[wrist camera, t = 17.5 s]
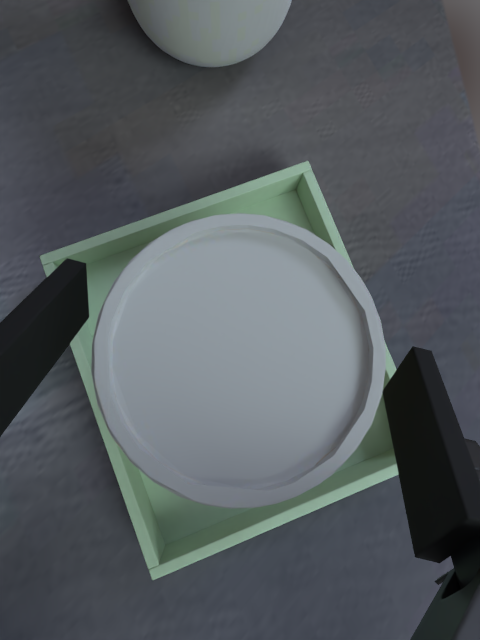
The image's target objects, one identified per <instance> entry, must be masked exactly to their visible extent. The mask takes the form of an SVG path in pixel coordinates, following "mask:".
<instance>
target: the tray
mask: <svg viewBox="0 0 480 640" xmlns="http://www.w3.org/2000/svg"><path fill="white" fill-rule="evenodd" d="M237 213H243V214H255V215H265V216H269V217H272V218H276V219H280V220H283V221H287V222H289V223H292V224H294V225H297V226H299V227H302V228H304V229H307V230H308V231H310V232H311V233H313V234H314V235H316V236H317V237H319V238H320V239H322V240H324V241H325V242H327V243H328V244H330V245H331V246H332V247H333V248H334V249H335V250H336V251H337V252H338V253H340V254H341V255H342V256H343V257H344V258H345V259H346V260H347V261H348V262H349V264H350V265H351V266H352V263H351V261H350V259H349V256H348V254H347V252H346V249H345V247H344V245H343V242H342V240H341V237H340V235H339V233H338V230H337V228H336V226H335V223H334V221H333V219H332V216H331V214H330V211H329V209H328V207H327V204H326V202H325V200H324V197H323V195H322V193H321V190H320V188H319V186H318V183H317V181H316V178H315V176H314V174H313V171H312V169H311V167H310V164H309V162H308V161H306V162H303V163H300V164H297V165H295V166H292V167H289V168H286V169H283V170H280V171H278V172H275V173H272V174H269V175H266V176H264V177H261V178H258V179H255V180H252V181H249V182H247V183H244V184H241V185H238V186H235V187H232V188H230V189H227V190H224V191H221V192H218V193H216V194H213V195H210V196H207V197H204V198H201V199H199V200H196V201H193V202H190V203H187V204H184V205H182V206H179V207H176V208H173V209H170V210H168V211H165V212H162V213H159V214H156V215H153V216H151V217H148V218H145V219H142V220H139V221H136V222H134V223H131V224H128V225H125V226H122V227H120V228H117V229H114V230H111V231H108V232H105V233H103V234H100V235H97V236H94V237H91V238H88V239H86V240H83V241H80V242H77V243H74V244H72V245H69V246H66V247H63V248H60V249H57V250H55V251H52V252H49V253H46V254H43V255H40V256H39V257H40V260H41V263H42V265H43V268H44V271H45V274H46V277H48V276H49V275H50V274H51V273H52V272H53V271H54V270H55V269H56V268H57V267H58V266H59V265H60V264H61V263H62V262H63V261H64V260H66V259H67V258H68V259H72V260H76V261H80V262H84V263H86V269H87V286H88V303H89V318H88V320H87V321H86V322H85V324H84V325H83V326H82V328H81V329H80V330H79V332H78V333H77V334H76V336H75V337H74V338H73V340H72V341H71V343H70V346H71V349H72V352H73V355H74V357H75V360H76V363H77V366H78V369H79V372H80V375H81V377H82V380H83V383H84V386H85V389H86V392H87V395H88V398H89V400H90V403H91V406H92V409H93V412H94V415H95V418H96V421H97V423H98V426H99V429H100V432H101V435H102V438H103V441H104V444H105V446H106V449H107V452H108V455H109V458H110V461H111V464H112V466H113V469H114V472H115V475H116V478H117V481H118V484H119V487H120V489H121V492H122V495H123V498H124V501H125V504H126V507H127V510H128V512H129V515H130V518H131V521H132V524H133V527H134V530H135V533H136V535H137V538H138V541H139V544H140V547H141V550H142V553H143V555H144V558H145V561H146V564H147V567H148V569H149V572H150V575H151V578H152V580H155V579H157V578H159V577H162V576H164V575H166V574H169V573H171V572H173V571H176V570H178V569H180V568H183V567H185V566H187V565H190V564H192V563H194V562H196V561H199V560H201V559H203V558H206V557H208V556H210V555H213V554H215V553H217V552H220V551H222V550H224V549H227V548H229V547H231V546H234V545H236V544H238V543H240V542H243V541H245V540H247V539H250V538H252V537H254V536H257V535H259V534H261V533H264V532H266V531H268V530H271V529H273V528H275V527H278V526H280V525H282V524H284V523H287V522H289V521H291V520H294V519H296V518H298V517H301V516H303V515H305V514H308V513H310V512H312V511H315V510H317V509H319V508H321V507H324V506H326V505H328V504H331V503H333V502H335V501H338V500H340V499H342V498H345V497H347V496H349V495H352V494H354V493H356V492H359V491H361V490H363V489H365V488H368V487H370V486H372V485H375V484H377V483H379V482H382V481H384V480H386V479H389V478H391V477H393V476H396V475H398V474H399V473H398V468H397V463H396V458H395V453H394V448H393V443H392V438H391V433H390V428H389V423H388V418H387V413H386V408H385V403H384V398H383V393H382V396H381V399H380V402H379V405H378V408H377V410H376V413H375V416H374V419H373V422H372V425H371V426H370V428H369V429H368V431H367V433H366V434H365V436H364V438H363V439H362V441H361V443H360V444H359V446H358V447H357V449H356V450H355V451H354V452H353V453H352V455H351V456H350V457H349V458H348V459H347V460H346V461H345V462H344V464H343V465H342V466H341V467H339V468H338V469H337V470H336V471H335V472H334V473H333V474H332V475H331V476H330V477H329V478H327V479H325V480H324V481H323V482H322V483H321V484H319V485H317V486H315V487H313V488H311V489H310V490H308V491H306V492H304V493H302V494H300V495H298V496H297V497H294V498H291V499H288V500H286V501H283V502H280V503H277V504H273V505H267V506H262V507H257V508H235V509H229V508H222V507H215V506H208V505H203V504H200V503H197V502H194V501H191V500H188V499H185V498H181V497H179V496H177V495H176V494H174V493H172V492H170V491H168V490H167V489H165V488H163V487H161V486H159V485H158V484H156V483H154V482H153V481H152V480H151V479H149V478H148V477H147V476H146V475H145V474H144V473H142V472H141V471H140V470H139V469H138V468H137V467H135V466H134V465H133V464H132V463H131V462H130V461H129V459H128V458H127V457H126V455H125V454H124V453H123V451H122V450H121V449H120V447H119V446H118V445H117V443H116V442H115V441H114V439H113V438H112V437H111V435H110V433H109V431H108V428H107V426H106V424H105V421H104V419H103V417H102V414H101V412H100V410H99V407H98V405H97V400H96V395H95V389H94V384H93V379H92V374H91V363H92V341H93V337H94V332H95V327H96V323H97V318H98V314H99V312H100V310H101V308H102V305H103V303H104V301H105V299H106V297H107V295H108V293H109V291H110V289H111V287H112V284H113V282H114V281H115V280H116V278H117V277H118V276H119V274H120V273H121V272H122V271H123V269H124V268H125V267H126V266H127V264H128V263H129V262H130V260H131V259H132V258H134V257H135V256H136V255H137V254H138V253H139V252H140V251H141V250H142V249H144V248H145V247H146V246H147V245H148V244H149V243H150V242H152V241H153V240H155V239H157V238H158V237H160V236H161V235H163V234H165V233H166V232H168V231H170V230H171V229H174V228H176V227H178V226H181V225H183V224H185V223H188V222H190V221H193V220H197V219H202V218H206V217H210V216H213V215H220V214H237ZM352 267H353V266H352ZM353 269H354V268H353ZM384 343H385V341H384ZM385 349H386V370H385V377H384V385H383V389H384V388H385V386H386V385H387V383H388V382H389V380H390V379H391V377H392V376H393V375H394V373H395V372H396V367H395V365H394V362H393V360H392V358H391V355H390V353H389V351H388V348H387V346H386V344H385Z"/></svg>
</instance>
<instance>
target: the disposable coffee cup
mask: <svg viewBox="0 0 480 640" xmlns="http://www.w3.org/2000/svg"><path fill="white" fill-rule="evenodd" d="M385 370H386V349H385V343H384V337H383V331H382V325H381V321H380V318H379V315H378V313H377V310H376V307H375V305H374V302H373V300H372V297H371V295H370V293H369V291H368V290H367V288H366V286H365V284H364V283H363V281H362V279H361V278H360V276H359V275H358V274H357V273H356V271H355V270H354V269H353V267H352V266H351V265H350V264H349V262H348V261H347V260H346V259H345V258H344V257H343V256H342V255H341V254H340V253H338V252H337V251H336V250H335V249H334V248H333V247H332V246H331V245H330V244H328V243H327V242H325V241H324V240H322V239H320V238H319V237H317V236H316V235H314V234H313V233H311V232H310V231H308V230H307V229H304V228H302V227H299V226H297V225H294V224H292V223H289V222H287V221H283V220H280V219H276V218H272V217H269V216H265V215H255V214H243V213H237V214H220V215H213V216H210V217H206V218H202V219H197V220H193V221H190V222H188V223H185V224H183V225H181V226H178V227H176V228H174V229H171V230H170V231H168V232H166V233H165V234H163V235H161V236H160V237H158V238H157V239H155V240H153V241H152V242H150V243H149V244H148V245H147V246H146V247H145V248H144V249H142V250H141V251H140V252H139V253H138V254H137V255H136V256H135V257H134V258H132V259H131V260H130V262H129V263H128V264H127V266H126V267H125V268H124V269H123V271H122V272H121V273H120V274H119V276H118V277H117V278H116V280H115V281H114V282H113V284H112V287H111V289H110V291H109V293H108V295H107V297H106V299H105V301H104V303H103V305H102V308H101V310H100V312H99V314H98V318H97V323H96V327H95V332H94V337H93V341H92V363H91V374H92V379H93V384H94V389H95V395H96V400H97V405H98V407H99V410H100V412H101V414H102V417H103V419H104V421H105V424H106V426H107V428H108V431H109V433H110V435H111V437H112V438H113V439H114V441H115V442H116V443H117V445H118V446H119V447H120V449H121V450H122V451H123V453H124V454H125V455H126V457H127V458H128V459H129V461H130V462H131V463H132V464H133V465H134V466H135V467H137V468H138V469H139V470H140V471H141V472H142V473H144V474H145V475H146V476H147V477H148V478H149V479H151V480H152V481H153V482H154V483H156V484H158V485H159V486H161V487H163V488H165V489H167V490H168V491H170V492H172V493H174V494H176V495H177V496H179V497H181V498H185V499H188V500H191V501H194V502H197V503H200V504H203V505H208V506H215V507H222V508H229V509H235V508H257V507H262V506H267V505H273V504H277V503H280V502H283V501H286V500H288V499H291V498H294V497H297V496H298V495H300V494H302V493H304V492H306V491H308V490H310V489H311V488H313V487H315V486H317V485H319V484H321V483H322V482H323V481H324V480H325V479H327V478H329V477H330V476H331V475H332V474H333V473H334V472H335V471H336V470H337V469H338V468H339V467H341V466H342V465H343V464H344V462H345V461H346V460H347V459H348V458H349V457H350V456H351V455H352V453H353V452H354V451H355V450H356V449H357V447H358V446H359V444H360V443H361V441H362V439H363V438H364V436H365V434H366V433H367V431H368V429H369V428H370V426H371V425H372V422H373V419H374V416H375V413H376V410H377V408H378V405H379V402H380V399H381V396H382V392H383V385H384V377H385Z"/></svg>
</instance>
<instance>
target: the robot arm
mask: <svg viewBox="0 0 480 640" xmlns="http://www.w3.org/2000/svg"><path fill="white" fill-rule="evenodd" d="M88 318H89V303H88V286H87V269H86V263H84V262H80V261H76V260H72V259H68V258H67V259H66V260H64V261H63V262H62V263H61V264H60V265H59V266H58V267H57V268H56V269H55V270H54V271H53V272H52V273H51V274H50V275H49V276H48V277H47V278H46V279H45V280H44V281H43V282H42V283H41V284H40V285H39V286H38V287H37V288H36V289H35V290H34V291H33V292H32V293H31V294H29V295H28V296H27V297H26V298H25V299H24V300H23V301H22V302H21V303H20V304H19V305H18V306H17V307H16V308H15V309H14V310H13V311H12V312H11V313H10V314H9V315H8V316H7V317H6V318H5V319H4V320H3V321H2V322H1V323H0V436H1V435H2V434H3V432H4V431H5V430H6V428H7V427H8V426H9V424H10V423H11V422H12V420H13V419H14V418H15V416H16V415H17V414H18V412H19V411H20V410H21V408H22V407H23V405H24V404H25V403H26V401H27V400H28V399H29V397H30V396H31V395H32V393H33V392H34V391H35V389H36V388H37V387H38V385H39V384H40V383H41V381H42V380H43V379H44V377H45V376H46V375H47V373H48V372H49V371H50V369H51V368H52V367H53V365H54V364H55V363H56V361H57V360H58V359H59V357H60V356H61V355H62V353H63V352H64V351H65V349H66V348H67V347H68V345H69V344H70V343H71V341H72V340H73V338H74V337H75V336H76V334H77V333H78V332H79V330H80V329H81V328H82V326H83V325H84V324H85V322H86V321H87V320H88ZM382 393H383V398H384V403H385V408H386V413H387V418H388V423H389V428H390V433H391V438H392V443H393V448H394V453H395V458H396V463H397V468H398V473H399V478H400V483H401V488H402V493H403V498H404V503H405V508H406V514H407V519H408V524H409V529H410V534H411V539H412V544H413V549H414V554H415V557H417V558H421V559H425V560H429V561H433V562H437V563H440V562H442V561H443V560H445V559H446V558H448V557H449V556H451V558H452V562H453V565H454V569H452V570H450V571H449V572H447V573H446V574H444V575H442V576H441V577H439V578H438V579H437V580H436V581H435V582H436V583H437V584H438V585H439V584H440V583H442V582H443V583H442V585H441V587H440V589H439V590H438V592H437V594H436V596H435V597H434V599H433V601H432V603H431V604H430V606H429V608H428V610H427V611H426V613H425V615H424V617H423V618H422V620H421V622H420V624H419V625H418V627H417V629H416V631H415V632H414V634H413V636H412V638H411V639H410V640H480V446H479V445H478V444H477V442H476V441H472V440H468V439H464V437H463V434H462V431H461V429H460V426H459V423H458V421H457V418H456V415H455V413H454V410H453V407H452V405H451V402H450V399H449V397H448V394H447V391H446V389H445V386H444V383H443V381H442V378H441V375H440V373H439V370H438V367H437V365H436V362H435V359H434V356H433V354H432V351H429V350H425V349H421V348H417V347H414V346H413V347H412V348H411V350H410V351H409V352H408V354H407V355H406V357H405V358H404V360H403V361H402V363H401V364H400V366H399V367H398V369H397V370H396V372H395V373H394V375H393V376H392V377H391V379H390V380H389V382H388V383H387V385H386V386H385V388H384V389H383V392H382Z"/></svg>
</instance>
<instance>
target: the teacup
mask: <svg viewBox="0 0 480 640" xmlns="http://www.w3.org/2000/svg"><path fill="white" fill-rule="evenodd" d="M291 1H292V0H128V3H129V5H130V7H131V10H132V12H133V14H134V16H135V18H136V19H137V21H138V23H139V25H140V26H141V28H142V29H143V31H144V32H145V33H146V35H147V36H148V37H149V38H150V39H151V40H152V41H153V42H154V43H155V44H156V45H157V46H158V47H159V48H160V49H162V50H163V51H164V52H166V53H167V54H169V55H170V56H172V57H174V58H175V59H178V60H180V61H182V62H185V63H187V64H191V65H195V66H200V67H222V66H228V65H232V64H236V63H238V62H241V61H243V60H245V59H247V58H249V57H251V56H253V55H254V54H255V53H257V52H258V51H260V50H261V49H262V48H263V47H264V46H265V45H266V44H267V43H268V42H269V41H270V40H271V39H272V38H273V37H274V35H275V34H276V32H277V31H278V29H279V28H280V26H281V25H282V23H283V21H284V19H285V17H286V14H287V12H288V9H289V7H290V4H291Z"/></svg>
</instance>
